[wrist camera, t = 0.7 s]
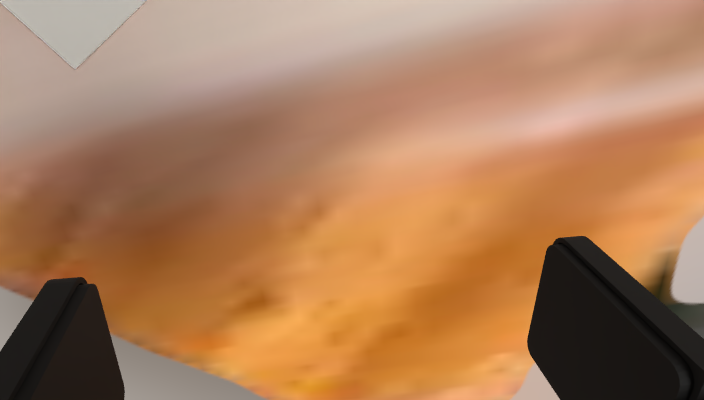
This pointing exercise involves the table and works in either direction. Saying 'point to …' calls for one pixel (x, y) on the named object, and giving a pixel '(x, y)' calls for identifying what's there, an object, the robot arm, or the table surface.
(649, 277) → the table surface
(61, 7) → the mat
